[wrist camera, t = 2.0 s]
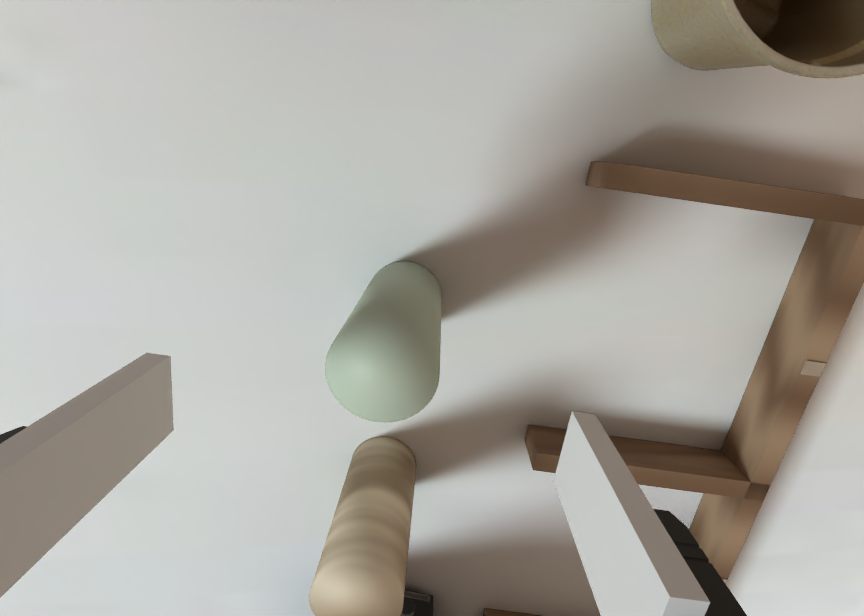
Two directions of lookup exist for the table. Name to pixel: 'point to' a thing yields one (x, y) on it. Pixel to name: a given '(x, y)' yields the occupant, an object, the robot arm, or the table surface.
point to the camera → (417, 604)
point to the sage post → (389, 346)
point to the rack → (775, 369)
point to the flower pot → (764, 34)
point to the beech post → (368, 535)
